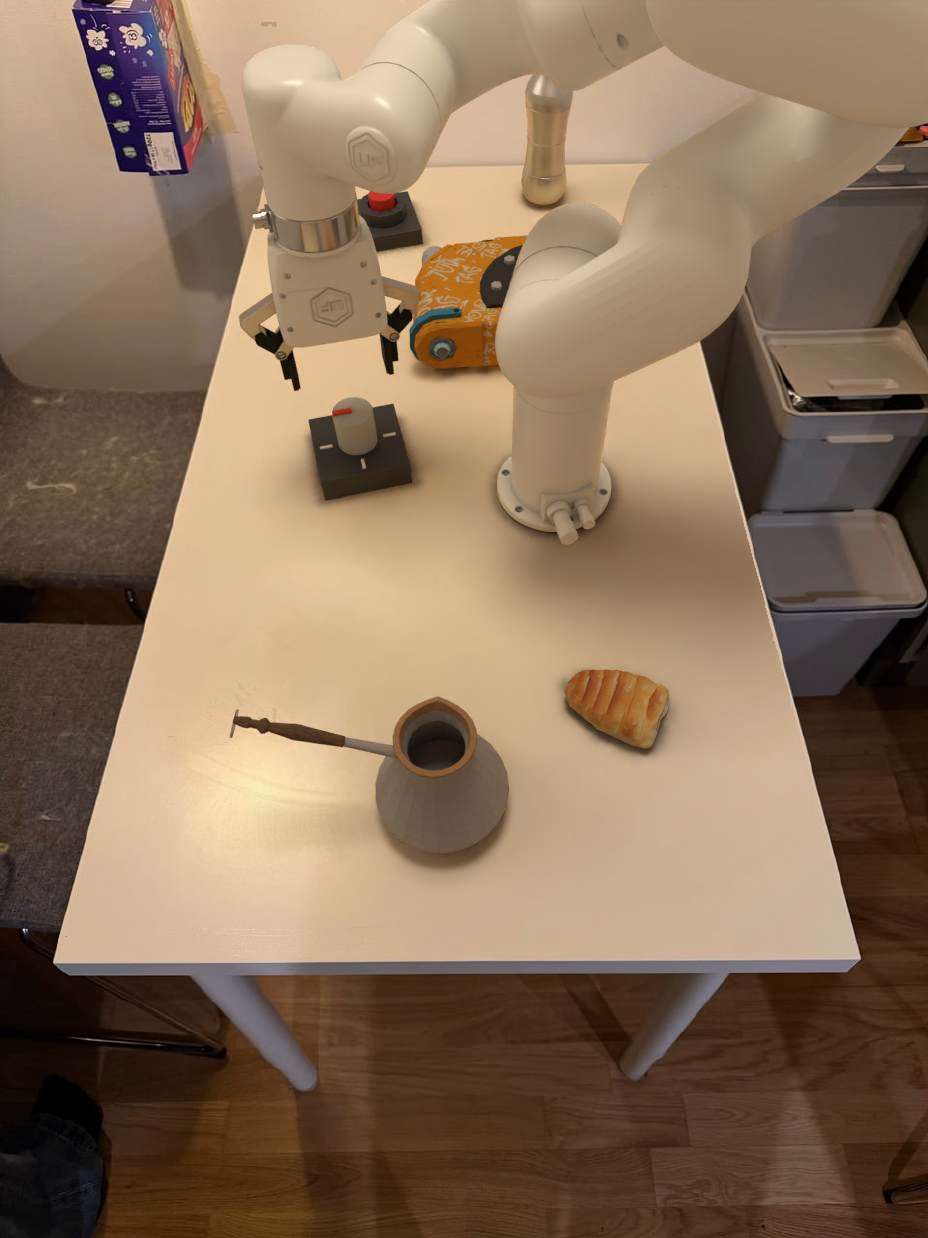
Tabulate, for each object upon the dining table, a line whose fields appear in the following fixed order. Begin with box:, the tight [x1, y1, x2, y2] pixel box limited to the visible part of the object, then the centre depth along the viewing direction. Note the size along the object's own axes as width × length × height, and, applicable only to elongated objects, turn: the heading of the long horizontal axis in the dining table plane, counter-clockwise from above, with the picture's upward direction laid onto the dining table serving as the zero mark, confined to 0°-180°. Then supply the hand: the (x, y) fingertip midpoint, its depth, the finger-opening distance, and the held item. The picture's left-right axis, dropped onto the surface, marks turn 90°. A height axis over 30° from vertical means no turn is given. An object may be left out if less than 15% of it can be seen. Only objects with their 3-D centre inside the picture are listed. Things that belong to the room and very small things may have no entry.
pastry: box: [564, 668, 671, 750], centre depth 77 cm, size 9×7×4 cm
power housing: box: [357, 190, 424, 253], centre depth 120 cm, size 10×9×4 cm
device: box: [409, 234, 528, 369], centre depth 106 cm, size 23×8×30 cm
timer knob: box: [331, 396, 378, 455], centre depth 92 cm, size 4×4×5 cm
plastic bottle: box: [520, 74, 574, 206], centre depth 116 cm, size 6×7×20 cm
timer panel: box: [307, 403, 413, 501], centre depth 95 cm, size 10×10×3 cm
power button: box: [367, 191, 395, 212], centre depth 118 cm, size 4×4×2 cm
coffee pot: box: [229, 696, 510, 854], centre depth 68 cm, size 21×12×15 cm, turn 87°
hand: (342, 373), depth 86 cm, fingers open, 9 cm apart
